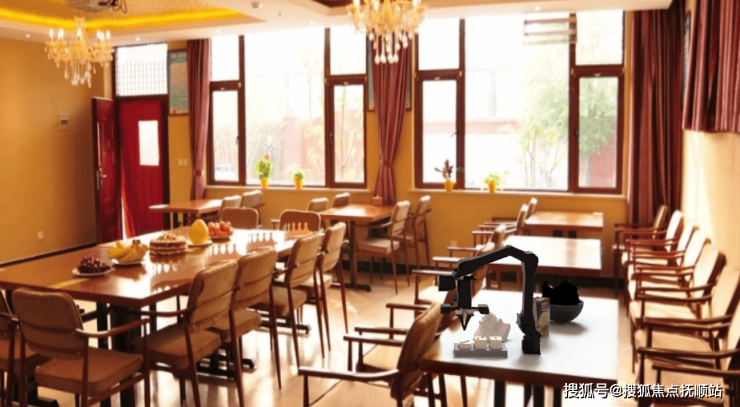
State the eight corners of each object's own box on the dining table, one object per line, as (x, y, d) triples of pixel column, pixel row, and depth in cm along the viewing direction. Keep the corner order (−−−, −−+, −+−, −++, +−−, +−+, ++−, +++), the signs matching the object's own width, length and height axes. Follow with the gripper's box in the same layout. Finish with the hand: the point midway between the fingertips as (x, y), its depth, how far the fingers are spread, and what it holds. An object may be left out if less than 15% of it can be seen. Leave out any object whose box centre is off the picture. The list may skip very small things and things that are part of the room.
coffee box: (538, 339, 278) (538, 302, 277) (524, 336, 283) (525, 299, 281) (549, 335, 285) (550, 298, 283) (536, 332, 289) (537, 295, 288)
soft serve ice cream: (509, 348, 272) (505, 317, 268) (472, 348, 277) (468, 318, 272) (511, 332, 283) (507, 302, 279) (475, 333, 288) (471, 303, 284)
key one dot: (500, 346, 264) (500, 336, 263) (502, 350, 259) (502, 339, 259) (489, 346, 264) (489, 336, 264) (490, 349, 260) (490, 339, 259)
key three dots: (470, 350, 265) (470, 339, 264) (470, 353, 260) (470, 343, 260) (458, 350, 265) (458, 339, 265) (459, 353, 261) (459, 343, 260)
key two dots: (485, 346, 264) (485, 336, 264) (486, 349, 260) (486, 339, 259) (474, 346, 265) (474, 335, 264) (475, 349, 260) (475, 339, 260)
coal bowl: (590, 321, 305) (591, 280, 303) (571, 331, 290) (571, 288, 289) (550, 314, 318) (550, 275, 317) (529, 323, 304) (530, 282, 302)
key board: (504, 349, 266) (504, 343, 266) (507, 356, 257) (507, 350, 257) (454, 349, 268) (454, 343, 267) (455, 356, 259) (455, 350, 258)
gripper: (486, 287, 268) (486, 325, 269) (439, 286, 269) (439, 324, 271) (489, 293, 257) (489, 333, 258) (440, 293, 258) (440, 332, 260)
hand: (464, 330), depth 262 cm, fingers closed
